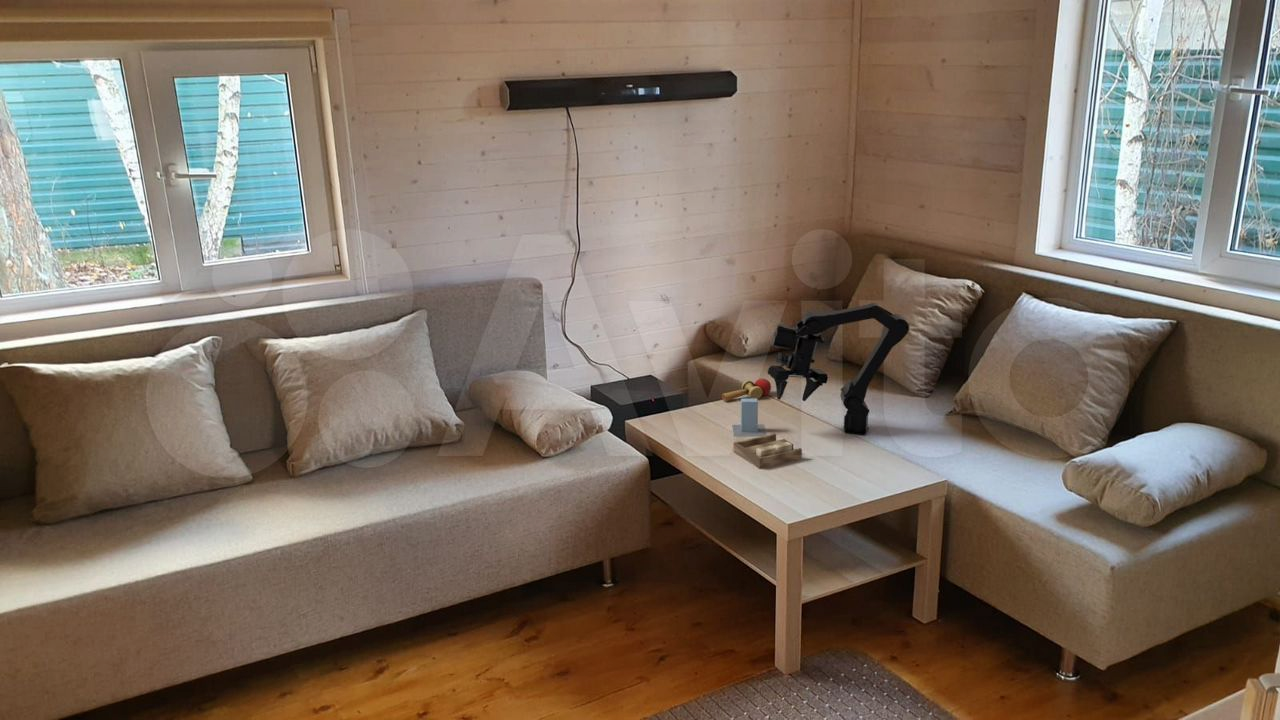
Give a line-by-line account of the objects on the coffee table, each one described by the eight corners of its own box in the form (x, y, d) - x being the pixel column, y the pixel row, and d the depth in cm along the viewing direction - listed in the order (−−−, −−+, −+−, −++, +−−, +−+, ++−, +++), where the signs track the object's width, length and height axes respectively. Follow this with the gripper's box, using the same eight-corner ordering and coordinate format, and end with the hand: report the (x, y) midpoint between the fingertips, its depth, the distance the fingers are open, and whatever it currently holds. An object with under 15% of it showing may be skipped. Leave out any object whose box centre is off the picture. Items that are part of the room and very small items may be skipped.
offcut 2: (787, 456, 279) (787, 441, 278) (791, 458, 277) (791, 444, 276) (772, 459, 277) (772, 445, 275) (777, 462, 275) (777, 447, 274)
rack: (774, 444, 289) (774, 433, 288) (801, 460, 277) (801, 449, 276) (733, 454, 283) (733, 442, 282) (759, 470, 271) (759, 458, 270)
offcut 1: (770, 459, 277) (771, 445, 275) (775, 462, 275) (775, 447, 273) (756, 463, 274) (756, 448, 273) (760, 466, 273) (760, 451, 271)
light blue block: (756, 428, 300) (757, 398, 297) (757, 432, 297) (757, 401, 294) (740, 428, 301) (740, 398, 298) (741, 432, 298) (741, 401, 295)
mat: (763, 426, 304) (763, 424, 304) (766, 438, 294) (766, 436, 294) (732, 426, 304) (732, 424, 304) (734, 438, 295) (734, 436, 294)
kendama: (731, 409, 323) (777, 394, 329) (727, 391, 322) (773, 376, 328) (721, 406, 330) (766, 391, 336) (717, 388, 329) (762, 374, 335)
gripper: (815, 345, 302) (802, 391, 307) (765, 341, 294) (752, 388, 299) (834, 358, 293) (821, 405, 297) (783, 354, 285) (770, 402, 290)
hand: (791, 400), depth 296 cm, fingers open, 9 cm apart
